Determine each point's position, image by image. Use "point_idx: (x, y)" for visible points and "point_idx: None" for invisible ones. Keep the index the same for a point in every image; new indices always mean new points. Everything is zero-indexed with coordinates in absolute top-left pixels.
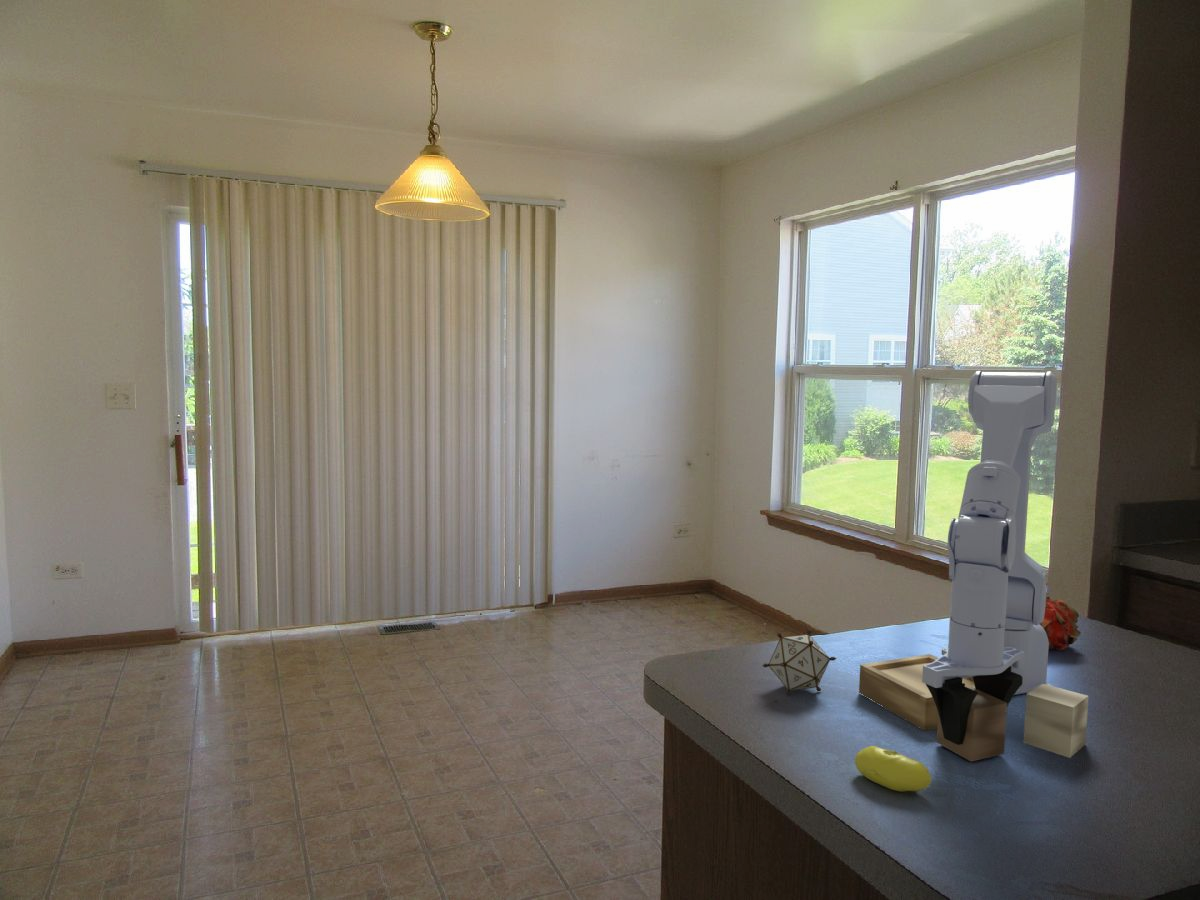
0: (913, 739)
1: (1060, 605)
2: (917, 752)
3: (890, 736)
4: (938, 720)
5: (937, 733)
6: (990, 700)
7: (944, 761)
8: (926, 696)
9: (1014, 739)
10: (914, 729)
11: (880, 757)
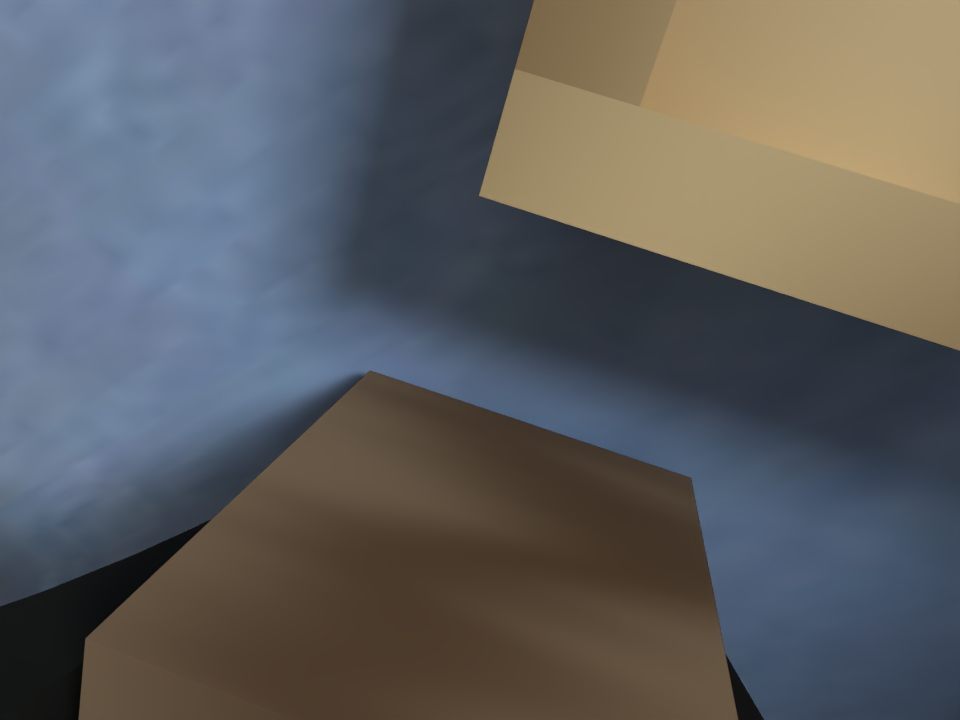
0: (323, 199)
1: None
2: (179, 328)
3: (214, 47)
4: (291, 450)
5: (344, 398)
6: None
7: (225, 494)
8: (546, 162)
9: (950, 689)
10: (497, 94)
11: None
